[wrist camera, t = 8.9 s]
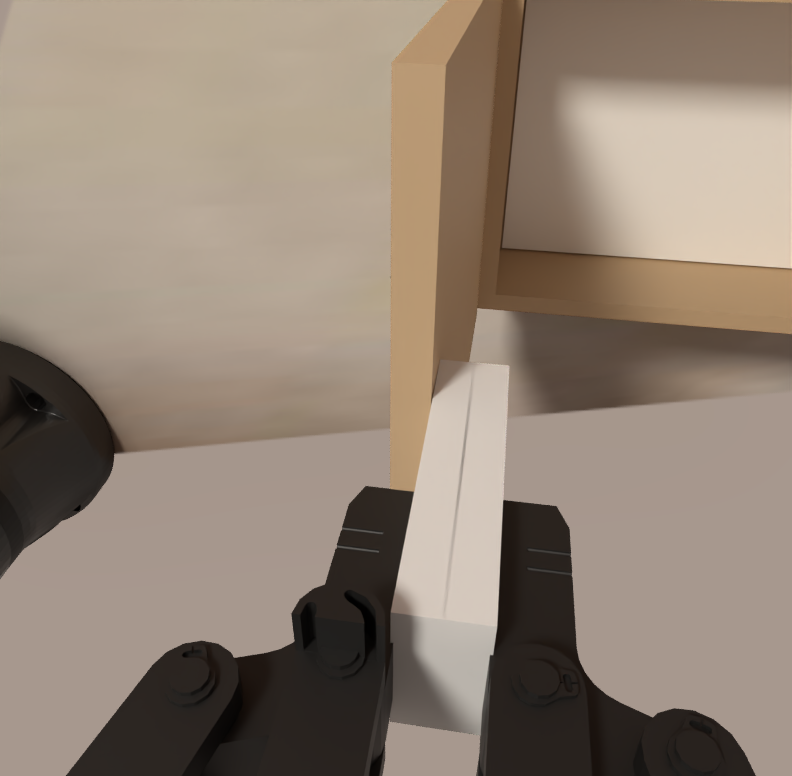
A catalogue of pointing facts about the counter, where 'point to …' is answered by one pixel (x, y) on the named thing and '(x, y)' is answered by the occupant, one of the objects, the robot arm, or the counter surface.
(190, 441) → the counter surface
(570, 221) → the base
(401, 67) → the mailer lid
